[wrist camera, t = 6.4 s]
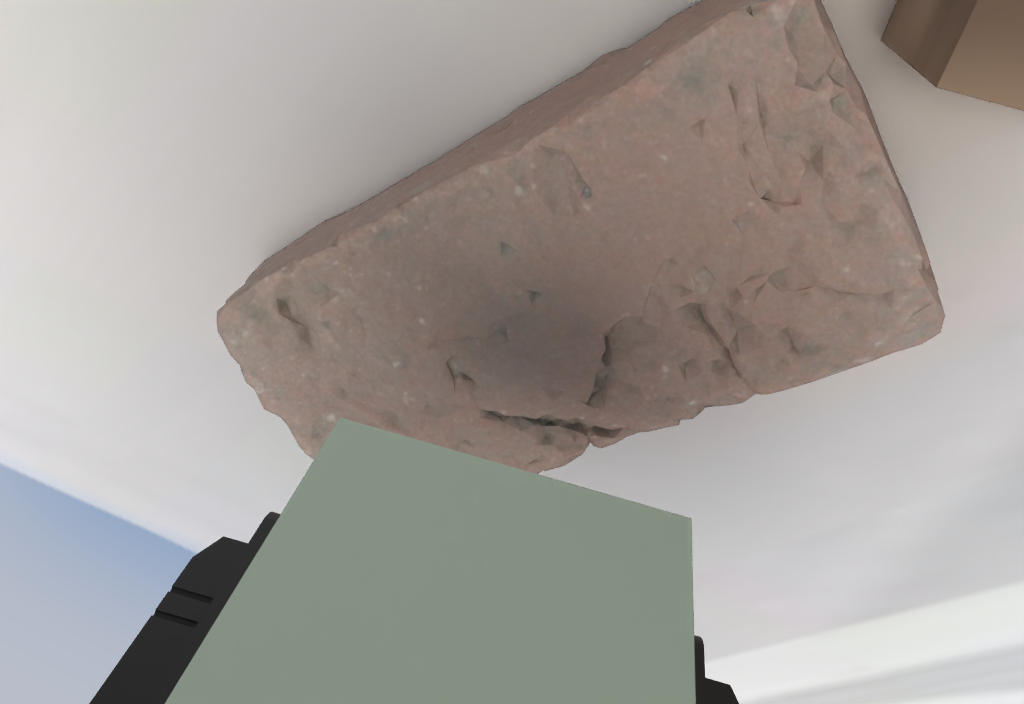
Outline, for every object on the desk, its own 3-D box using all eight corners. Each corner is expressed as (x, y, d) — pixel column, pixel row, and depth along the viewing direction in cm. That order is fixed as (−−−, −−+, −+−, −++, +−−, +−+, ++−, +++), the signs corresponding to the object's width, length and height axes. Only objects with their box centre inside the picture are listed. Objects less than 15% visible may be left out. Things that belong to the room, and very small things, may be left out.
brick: (408, 465, 28) (365, 564, 24) (251, 257, 25) (172, 330, 21) (917, 248, 22) (972, 333, 18) (787, -59, 19) (818, -40, 15)
